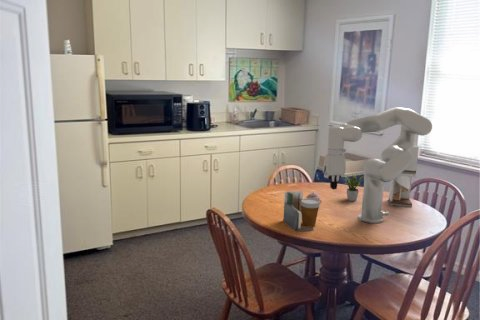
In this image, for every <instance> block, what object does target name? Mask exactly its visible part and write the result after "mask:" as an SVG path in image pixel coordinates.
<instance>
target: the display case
mask: <svg viewBox="0 0 480 320" xmlns="http://www.w3.org/2000/svg"><path fill="white" fill-rule="evenodd" d="M419 148H420V146H419V145H418V146H417V145H416V143H414V146H413V147H412V149H411V150H410V152H411V154H412V161H411V163H410V165H409V166H408V167H407V168H406V169H405V170H404V171H403V172H402V173H400V174H399V175H398V176H397V177H396V178H394V179H393V180H392V181H390V183H389V192H388V193H389V194H388V202H389V205H390V206H393V205H395V206H394V207H396V206H397V207H404V206H405V208H412V207H413V202H412V200H411V199H410V198H411V197H410V196H411V191H412V190H411V189H412V188H411V187H412V180H413V178H416V173H417V167H418V158H419V157H418V156H419Z"/></svg>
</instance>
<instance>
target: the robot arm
mask: <svg viewBox="0 0 480 320" xmlns="http://www.w3.org/2000/svg"><path fill="white" fill-rule="evenodd" d="M395 126H400V134H399V135H398V136H397V138H396V139H395V140H394V141H393V142H392V143H390V144H389V145H388V146H387V147H386V148H384V149H383V151H382V152H381V155H380V158H381V159H379V158H369V159H368V160H366V161H365V162H364V165H363V176H364V177H363V180H364V181H363V194H362V202H361V203H362V204H361V212H360V213H359V214H358V215H357V218H358V220H360V221H361V222H365V223H368V224H380V223H381V224H382V223H383V222H384V216H390V213H389V211H384V210H382V207H383V197H384V196H383V195H384V183H389V182H391V181H392V180H393V179H394V178H396V177H397V176H398V175H399V174H400V173H402V172H403V171H404V170H405V169H406V168H407V167H408V166H409V165H410V163H411V161H412V154H411V152H410V150H411V149H412V147H413V146H414V144H415V141H416V135H417V136H427V135H429V134H430V133H431V132H432V131H433V130H432V129H433V124H432V122H431V120H430V119H429V118H427V117H425V116H423V115H422V114H420V113H417V112H416V111H414V110H413V109H411V108H406V107H397V106H396V107H392V108H389V109H386V110H383V111H380V112H378V113H376V114H373V115H369V116H367V115H366V116H363V117H359V118H355V119H352V120H349V121H347V122H344V123H341V124H339V125H333V126H329V128H328V133H327V134H328V136H327V153H326V154H325V157H324V160H323V168H322V174H324V175H323V178H325V179H328V180H329V183H330V184H329V186H330V189H332V190H338V182H339V180H340V179H341V178H343V177H346V175H345V174H346V166H347V165H346V156H345V154H344V153H346V152H347V150H346V148H345V142H348V143H349V142H350V143H355V142H358V141H360V140H361V139H362V137H363V133H379V132H382V131H383V130H387V129H389V128H392V127H395Z"/></svg>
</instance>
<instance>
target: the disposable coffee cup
mask: <svg viewBox="0 0 480 320" xmlns="http://www.w3.org/2000/svg"><path fill="white" fill-rule="evenodd" d="M300 204H301V212H302V215H301V223H302V226H304V227H306V228H310V227H313V228H314V227H315V226H316V222H317V218H318V212H319V209H318V208H320V206H321V204H319V201H318V200H315V199H306V198H303V199H302V200H301V202H300Z"/></svg>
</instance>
